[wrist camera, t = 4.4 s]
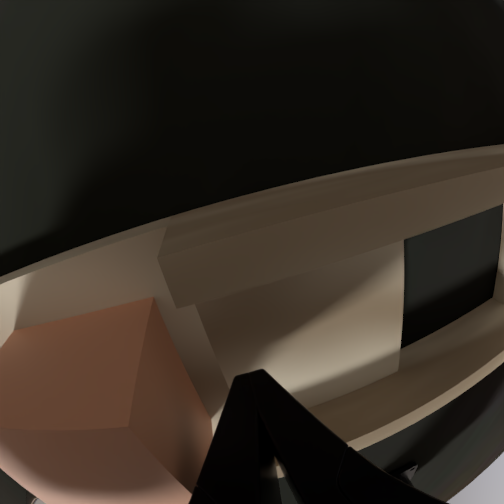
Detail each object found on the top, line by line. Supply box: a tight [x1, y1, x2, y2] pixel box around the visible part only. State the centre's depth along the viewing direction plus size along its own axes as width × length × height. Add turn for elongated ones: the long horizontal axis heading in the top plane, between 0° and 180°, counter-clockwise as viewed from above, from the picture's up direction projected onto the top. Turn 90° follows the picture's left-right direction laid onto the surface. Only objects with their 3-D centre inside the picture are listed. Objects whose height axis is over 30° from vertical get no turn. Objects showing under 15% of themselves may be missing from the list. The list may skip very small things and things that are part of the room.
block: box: [0, 297, 213, 504], centre depth 6 cm, size 5×5×4 cm
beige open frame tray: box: [0, 144, 504, 478], centre depth 8 cm, size 8×28×3 cm, turn 103°
